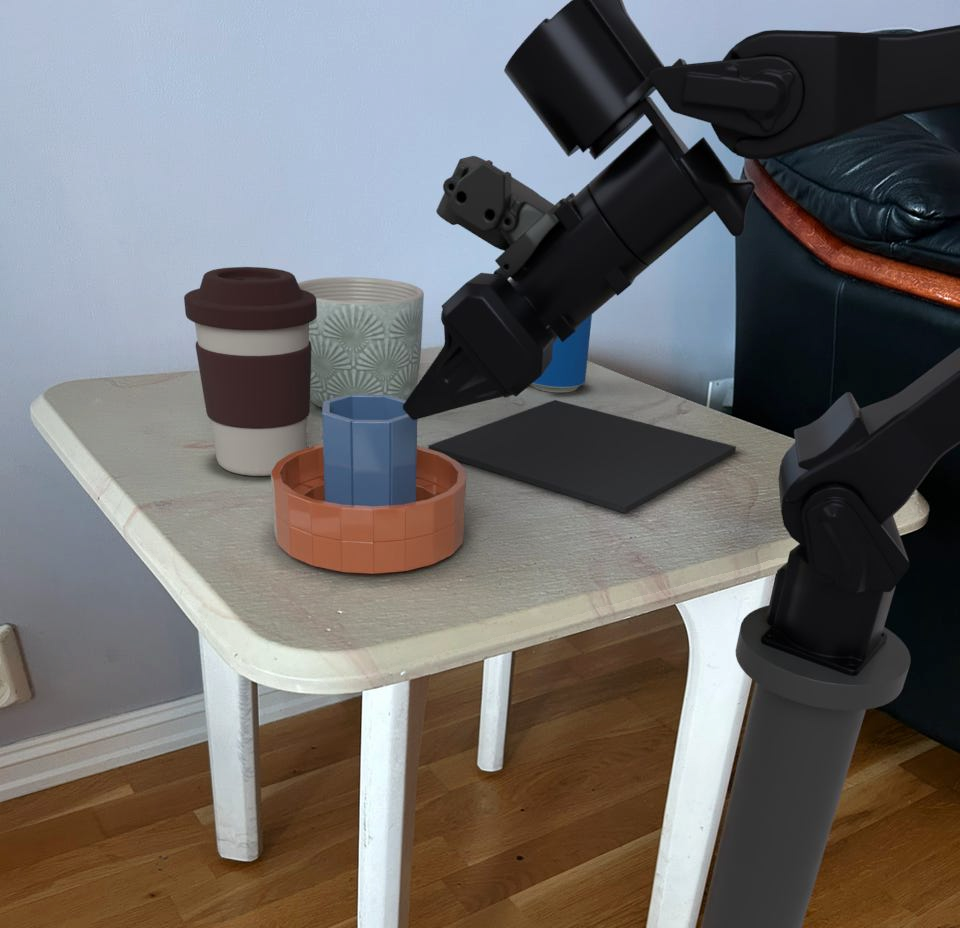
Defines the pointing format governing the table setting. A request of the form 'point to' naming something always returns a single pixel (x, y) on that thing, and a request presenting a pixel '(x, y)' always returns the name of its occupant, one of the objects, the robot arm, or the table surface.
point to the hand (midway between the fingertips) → (428, 393)
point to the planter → (364, 337)
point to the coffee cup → (253, 363)
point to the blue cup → (369, 451)
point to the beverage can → (567, 362)
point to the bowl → (368, 517)
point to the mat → (586, 454)
